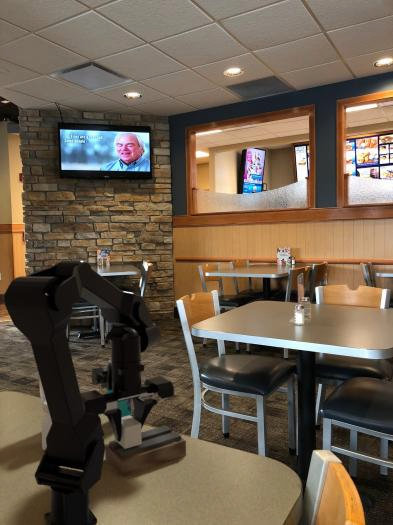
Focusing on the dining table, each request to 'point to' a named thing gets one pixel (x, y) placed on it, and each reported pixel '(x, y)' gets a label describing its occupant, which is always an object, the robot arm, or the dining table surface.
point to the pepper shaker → (45, 424)
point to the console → (146, 451)
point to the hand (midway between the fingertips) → (127, 438)
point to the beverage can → (123, 403)
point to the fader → (130, 432)
